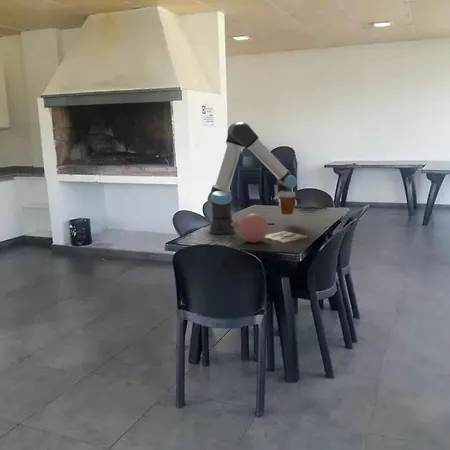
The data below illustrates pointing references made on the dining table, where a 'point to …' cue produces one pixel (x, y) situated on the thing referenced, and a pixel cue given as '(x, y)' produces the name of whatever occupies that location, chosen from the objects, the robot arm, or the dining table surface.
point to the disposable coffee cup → (287, 202)
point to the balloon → (252, 227)
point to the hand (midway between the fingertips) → (288, 203)
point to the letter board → (284, 236)
